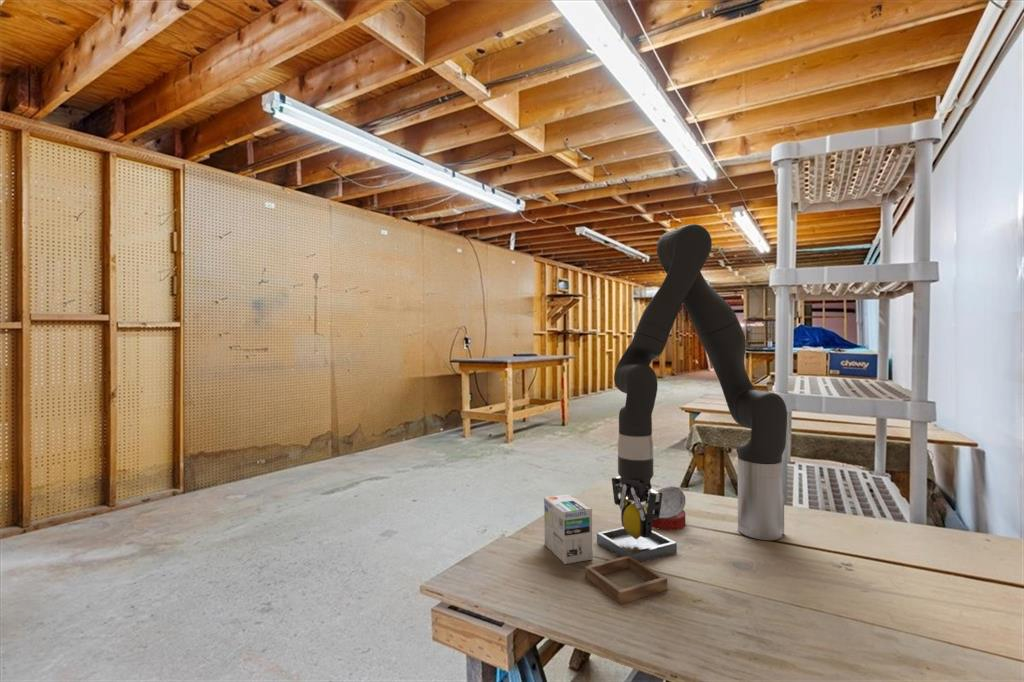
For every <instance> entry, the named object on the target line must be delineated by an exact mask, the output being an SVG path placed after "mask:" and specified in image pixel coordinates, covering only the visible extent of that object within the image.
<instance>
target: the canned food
mask: <svg viewBox="0 0 1024 682" xmlns="http://www.w3.org/2000/svg"><path fill="white" fill-rule="evenodd" d="M655 491H656V492H658V491H660V492H661V493H662V502H661V509H660V517H659V518H658V519H653V520H652V528H653V527H654V528H653V529H656V528H659V529H658V530H660V529H665V530H664V531H679V530H682V529H684V528H685V527H686V511H685V510H684V508H685V506H686V495H685V493H684V491H683V490H682V489H680V487H678V486H677V487H676V486H672V485H671V486H667V487H663V488H661V489H658V490H655ZM644 504H646V501H645V502H644ZM645 509H646V508H645ZM646 511H647V510H646ZM653 513H654V511H653ZM678 529H679V530H678Z"/></svg>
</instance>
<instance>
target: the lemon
mask: <svg viewBox="0 0 1024 682" xmlns="http://www.w3.org/2000/svg"><path fill="white" fill-rule="evenodd" d="M644 511H645V514H647V511H646V509H645V508H644ZM623 525H624V528H625V530H626V532H627V533H628V534H629V535H631V536H633V537H634V539H638V538H639V537H641V516H640V512H639V510H638V509H637V508H636V504H635V502H634V501H633V503H632V504H630V505H629V506H627V507H626V509H625V511H624V515H623Z"/></svg>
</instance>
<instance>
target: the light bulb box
mask: <svg viewBox="0 0 1024 682" xmlns="http://www.w3.org/2000/svg"><path fill="white" fill-rule="evenodd" d="M543 509H544V510H543V511H544V513H543V514H544V515H543V517H544V520H543V521H544V525H543V527H544V545H545V546H546V547H547V548H548V549H549V550H550V551H551V552H552V553H553V554H554V555H555V556H556V557H557V558H558V559H559V560H560V561H561V562H562V563H563V564H564V565H567V564H573V563H579V562H584V561H591V560H593V559H594V558H593V553H594V552H593V509H592V508H591V507H590V506H588V505H587V504H585V503H583V502H582V501H580V500H579V499H577V498H576V497H574V496H573V495H571V493H569V494H568V493H567V494H559V495H550V496H544V497H543Z"/></svg>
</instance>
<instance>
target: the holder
mask: <svg viewBox="0 0 1024 682" xmlns="http://www.w3.org/2000/svg"><path fill="white" fill-rule="evenodd" d="M626 569H630V570H631V571H632V572H634V573H636V574H637V575H639V576H641V577H642V578H643V579H645V580H647V581H644V582H642V583H641V582H640V583H639V584H638V583H637V584H635V585H632V586H628V587H626V588H620V587H619V586H618V585H617V584H615V583H614V582H612V581H610V580H609V579H608V578H606V577H605V576H604V575H607V574H611V573H615V572H618V571H622V570H626ZM584 570H585V571H584V572H585V573H584V574H585V575H584V577H585V579H587V580H588V581H589V582H591V583H593V584H594V585H595V586H596V587H597V588H599V589H600V590H602V591H603V592H604V593H606V595H608V596H609V597H611V598H612V599H613V600H614V601H616V602H617V603H619V604H620V605H624V604H626V603H629V602H632V601H635V600H639V599H642V598H646V597H648V596H651V595H655V594H657V593H658V594H659V593H662V592H665V591H667V590H668V578H667V577H665V576H664V575H662V574H660V573H659V572H657V571H655V570H654V569H652V568H651V567H649V566H647V565H646V564H644V563H643V562H642V563H641V562H639V561H637V560H636V559H634V558H632V557H631V556H629V555H628V556H625V557H621V558H620V557H618V558H614V559H610V560H606V561H601V562H599V563H595V564H591V565H587V566H585V567H584Z"/></svg>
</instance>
